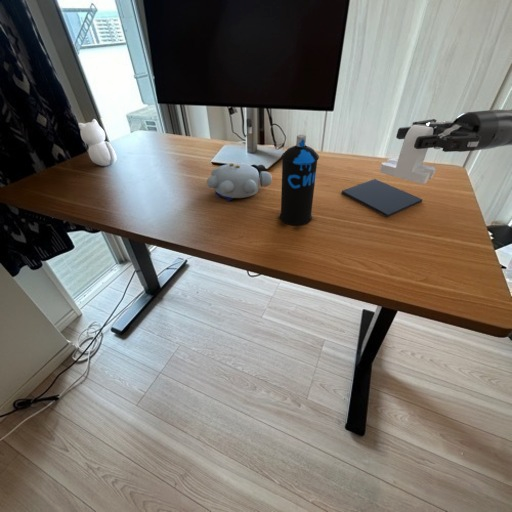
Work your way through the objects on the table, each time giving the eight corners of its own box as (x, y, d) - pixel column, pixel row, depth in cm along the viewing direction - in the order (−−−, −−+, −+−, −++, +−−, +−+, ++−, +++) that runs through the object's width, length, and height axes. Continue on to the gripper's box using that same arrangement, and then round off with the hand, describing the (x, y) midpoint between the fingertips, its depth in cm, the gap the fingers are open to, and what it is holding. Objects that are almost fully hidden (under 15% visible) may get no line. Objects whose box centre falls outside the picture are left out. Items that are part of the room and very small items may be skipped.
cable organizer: (423, 184, 56) (443, 133, 49) (378, 172, 61) (390, 125, 55) (433, 176, 58) (453, 127, 52) (389, 165, 64) (402, 119, 58)
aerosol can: (275, 212, 72) (276, 133, 59) (303, 206, 73) (310, 128, 60) (287, 228, 66) (291, 144, 53) (317, 222, 67) (328, 139, 54)
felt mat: (421, 201, 73) (422, 199, 73) (387, 217, 68) (388, 214, 67) (374, 181, 84) (374, 178, 83) (341, 193, 79) (341, 190, 78)
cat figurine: (106, 157, 109) (90, 116, 99) (128, 161, 104) (113, 119, 94) (86, 165, 103) (67, 122, 93) (108, 170, 98) (91, 126, 88)
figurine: (237, 210, 72) (282, 191, 84) (236, 179, 67) (285, 164, 79) (196, 192, 81) (243, 177, 93) (194, 163, 76) (243, 151, 88)
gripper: (464, 103, 59) (392, 109, 57) (524, 119, 48) (437, 127, 47) (450, 139, 64) (383, 145, 62) (501, 161, 53) (422, 169, 51)
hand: (407, 138), depth 54 cm, fingers closed on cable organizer, 5 cm apart
